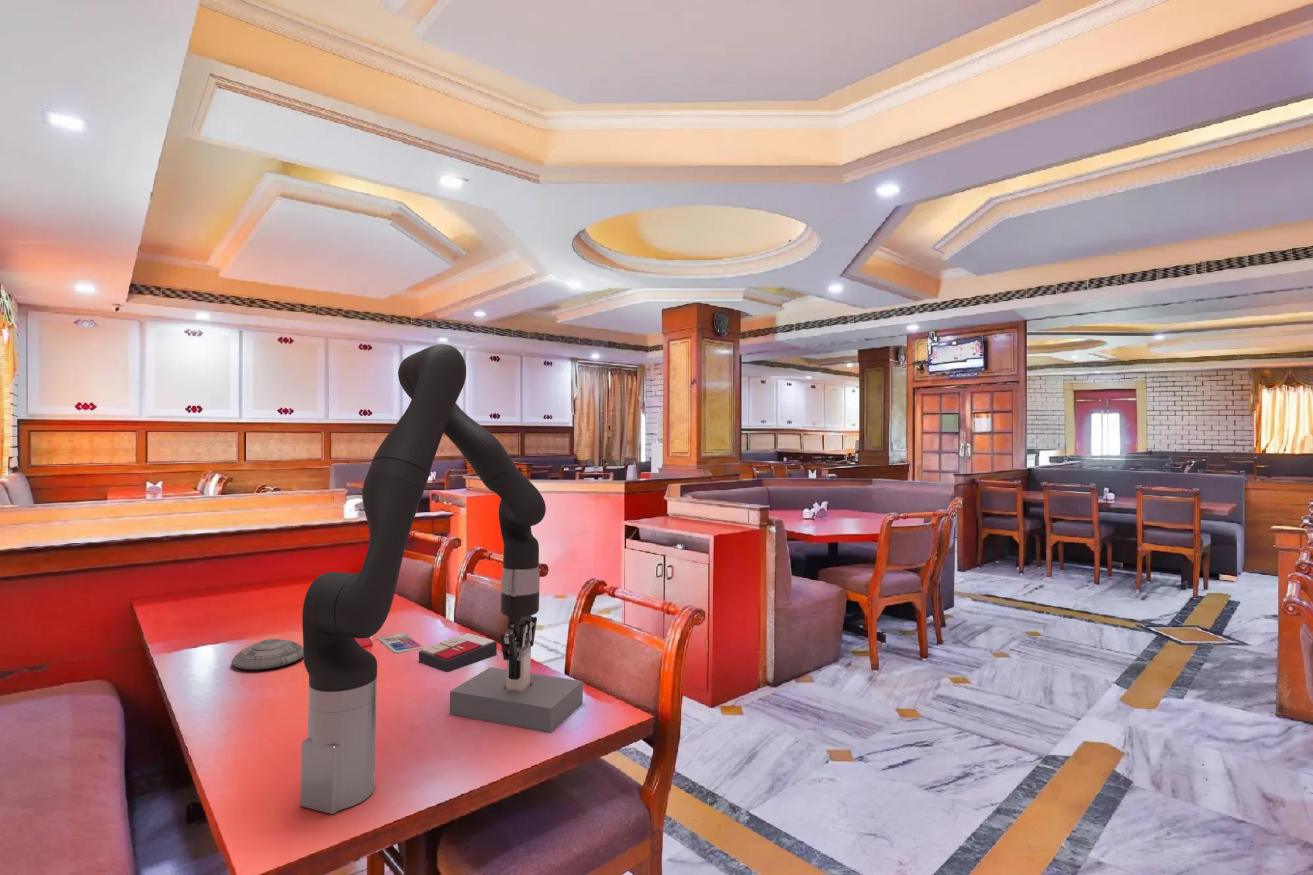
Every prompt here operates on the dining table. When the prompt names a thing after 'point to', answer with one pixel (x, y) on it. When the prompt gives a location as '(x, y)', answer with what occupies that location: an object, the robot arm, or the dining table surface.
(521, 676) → the pale square peg
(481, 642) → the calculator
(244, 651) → the flying saucer
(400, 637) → the smartphone
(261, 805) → the dining table surface
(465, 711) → the header
